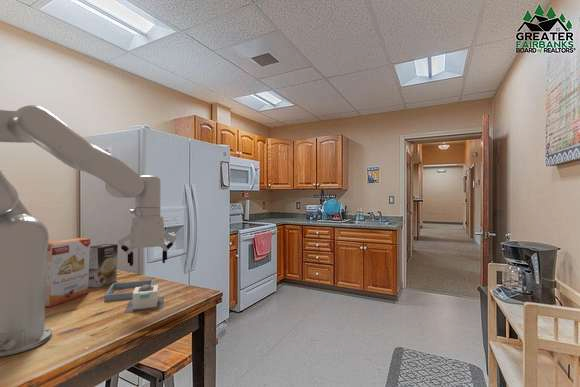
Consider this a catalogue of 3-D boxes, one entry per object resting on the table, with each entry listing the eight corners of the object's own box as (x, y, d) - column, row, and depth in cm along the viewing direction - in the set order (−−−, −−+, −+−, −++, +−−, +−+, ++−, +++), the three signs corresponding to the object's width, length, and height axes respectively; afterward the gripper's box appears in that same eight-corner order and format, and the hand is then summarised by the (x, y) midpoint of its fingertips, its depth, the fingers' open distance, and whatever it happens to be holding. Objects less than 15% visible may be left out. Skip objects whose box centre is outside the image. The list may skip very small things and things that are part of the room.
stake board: (163, 311, 89) (163, 289, 89) (123, 316, 85) (124, 293, 85) (164, 299, 99) (164, 279, 100) (129, 303, 95) (129, 283, 95)
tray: (151, 298, 100) (151, 290, 100) (104, 304, 94) (104, 295, 94) (153, 286, 113) (153, 279, 113) (112, 291, 108) (112, 283, 108)
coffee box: (98, 288, 111) (99, 247, 111) (85, 286, 112) (86, 247, 113) (117, 281, 120) (118, 244, 120) (104, 280, 121) (105, 243, 122)
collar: (156, 308, 89) (156, 293, 89) (131, 311, 86) (131, 295, 86) (157, 299, 97) (158, 284, 97) (135, 302, 94) (135, 287, 94)
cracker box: (50, 307, 91) (52, 243, 91) (36, 306, 92) (37, 243, 92) (89, 293, 105) (91, 238, 105) (76, 292, 106) (77, 237, 106)
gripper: (115, 214, 86) (115, 269, 86) (176, 212, 93) (176, 263, 93) (120, 212, 93) (120, 263, 93) (175, 211, 100) (175, 258, 100)
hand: (148, 263), depth 93 cm, fingers open, 9 cm apart
